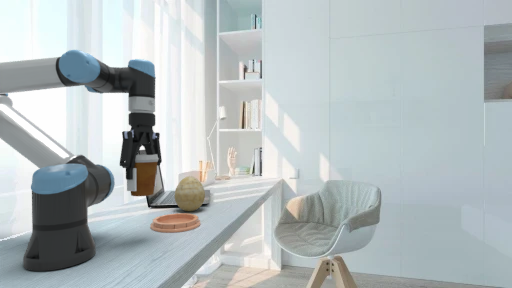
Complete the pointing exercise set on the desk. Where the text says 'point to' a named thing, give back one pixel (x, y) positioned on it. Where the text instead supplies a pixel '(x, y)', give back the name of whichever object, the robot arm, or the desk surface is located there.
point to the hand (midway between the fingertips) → (142, 188)
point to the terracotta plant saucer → (175, 223)
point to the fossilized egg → (189, 194)
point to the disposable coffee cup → (145, 174)
